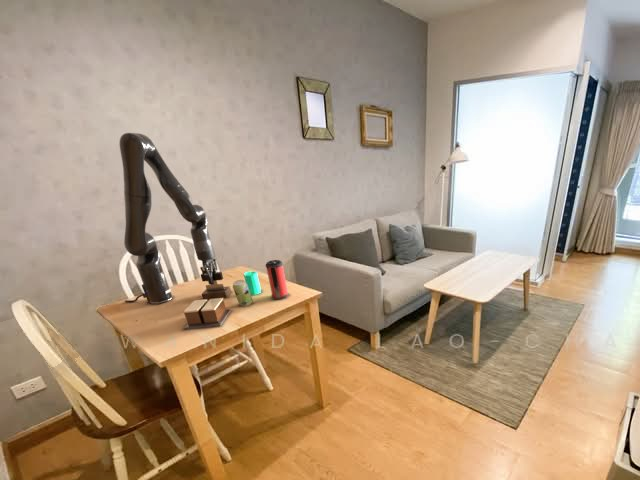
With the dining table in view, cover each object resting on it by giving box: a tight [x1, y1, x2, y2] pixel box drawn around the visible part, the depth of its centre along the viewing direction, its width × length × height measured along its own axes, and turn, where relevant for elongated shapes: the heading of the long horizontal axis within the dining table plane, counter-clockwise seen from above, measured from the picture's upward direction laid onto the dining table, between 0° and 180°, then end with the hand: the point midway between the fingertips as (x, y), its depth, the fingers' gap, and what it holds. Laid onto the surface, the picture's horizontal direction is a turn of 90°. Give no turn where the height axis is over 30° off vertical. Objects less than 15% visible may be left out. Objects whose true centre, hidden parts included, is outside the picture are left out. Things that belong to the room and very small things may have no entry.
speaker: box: [265, 259, 289, 300], centre depth 160 cm, size 8×8×18 cm
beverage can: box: [232, 279, 253, 307], centre depth 153 cm, size 6×7×12 cm
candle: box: [243, 270, 262, 296], centre depth 166 cm, size 6×6×12 cm
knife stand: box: [201, 286, 232, 300], centre depth 166 cm, size 11×8×3 cm
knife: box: [200, 271, 225, 291], centre depth 164 cm, size 9×2×12 cm, turn 99°
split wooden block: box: [183, 298, 231, 330], centre depth 141 cm, size 14×14×7 cm
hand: (213, 282), depth 163 cm, fingers open, 4 cm apart
